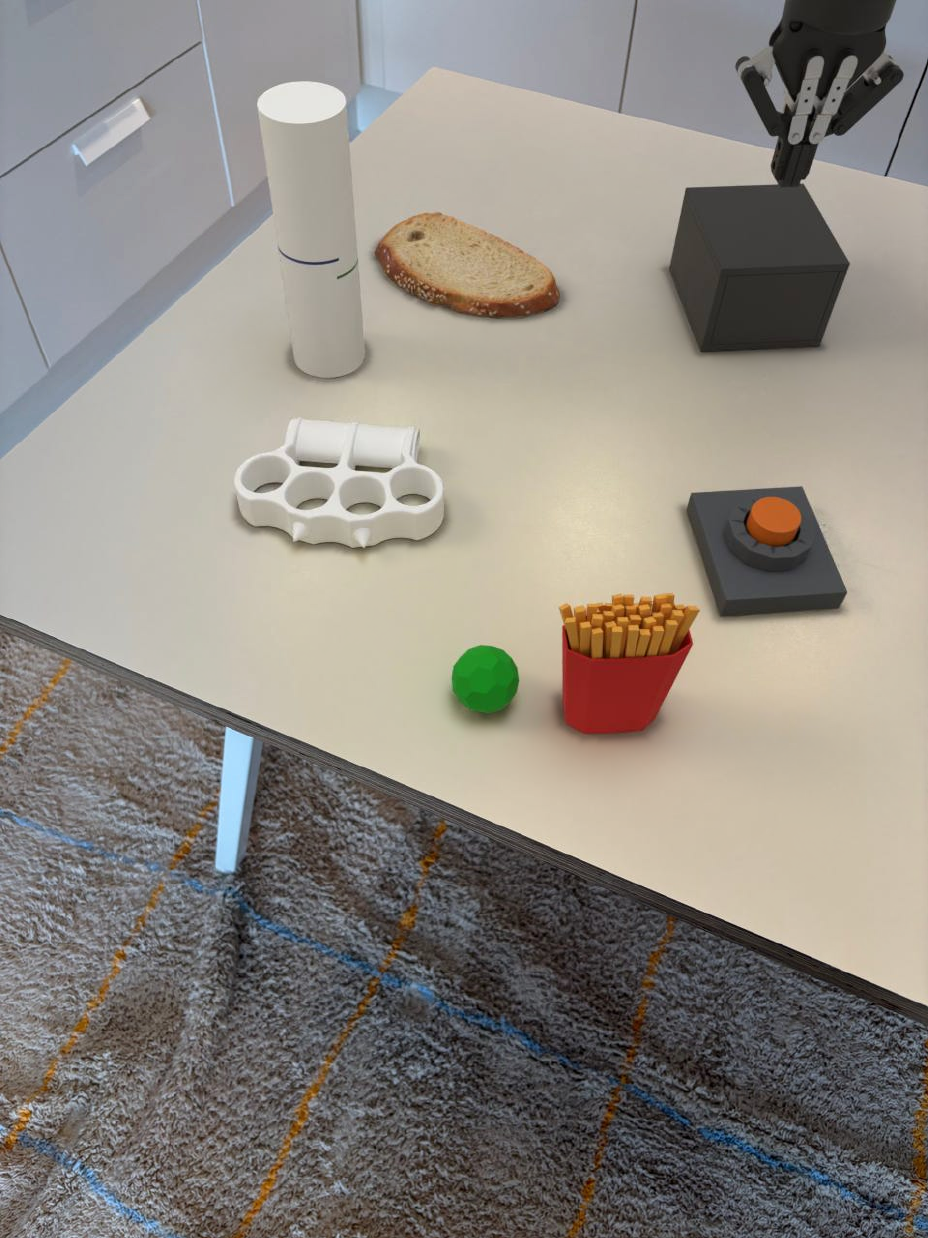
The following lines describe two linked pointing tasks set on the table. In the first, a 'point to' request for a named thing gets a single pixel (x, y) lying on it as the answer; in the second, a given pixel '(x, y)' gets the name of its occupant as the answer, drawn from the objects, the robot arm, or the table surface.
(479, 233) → the bread slice
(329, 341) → the cylindrical container
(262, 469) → the knuckle duster
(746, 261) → the dark grey paneled cube
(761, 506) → the button
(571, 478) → the table surface
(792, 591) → the control block
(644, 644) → the french fries
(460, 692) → the polyhedron
